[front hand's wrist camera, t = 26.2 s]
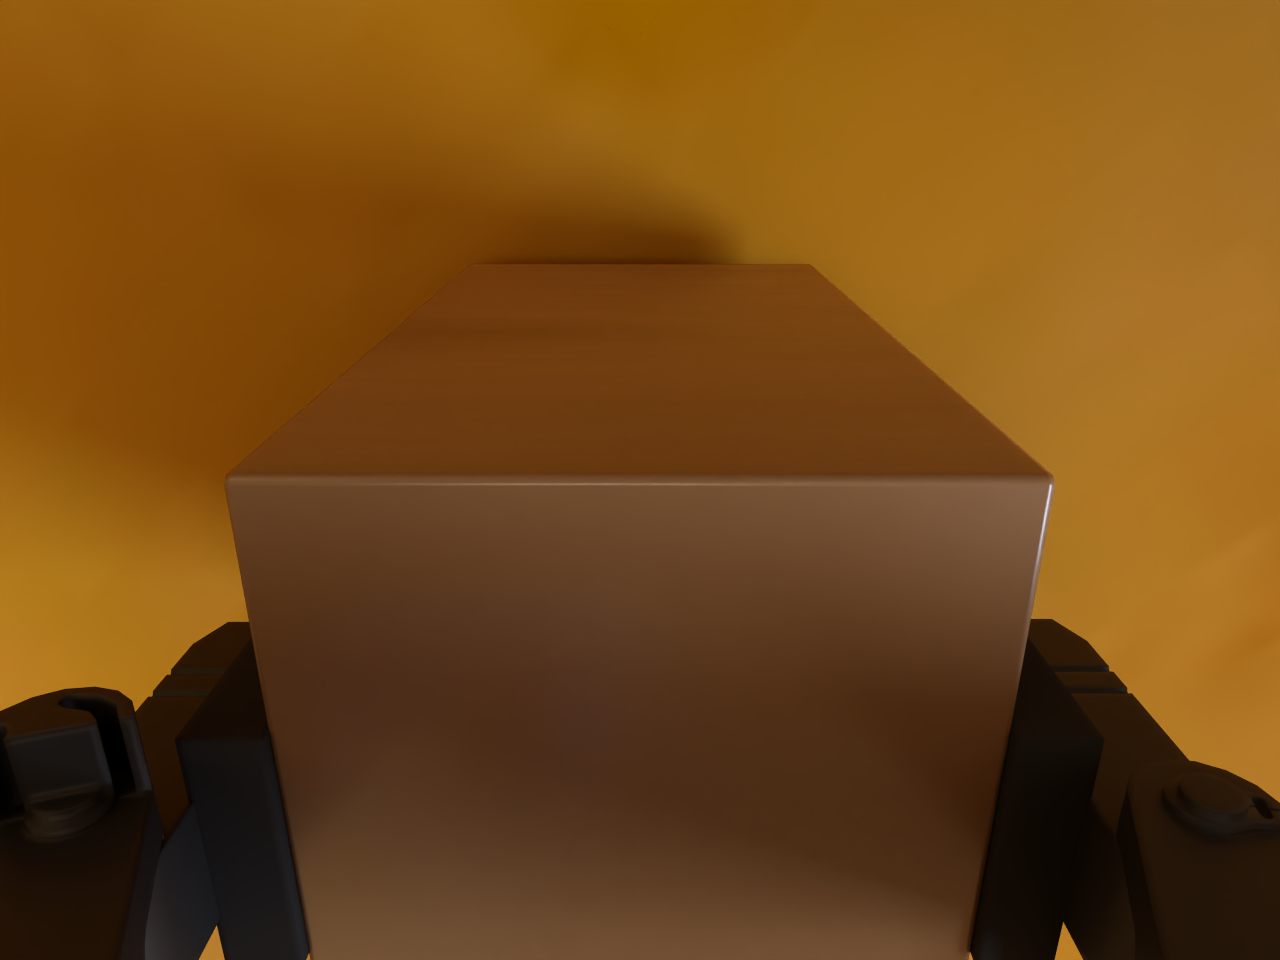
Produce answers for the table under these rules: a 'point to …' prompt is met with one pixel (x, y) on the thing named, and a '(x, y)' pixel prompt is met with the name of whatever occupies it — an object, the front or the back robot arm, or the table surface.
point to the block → (639, 625)
